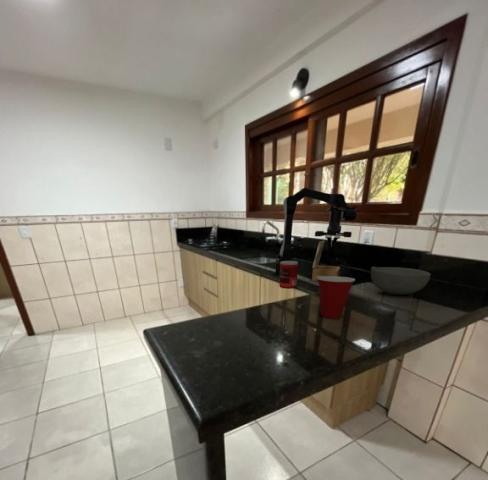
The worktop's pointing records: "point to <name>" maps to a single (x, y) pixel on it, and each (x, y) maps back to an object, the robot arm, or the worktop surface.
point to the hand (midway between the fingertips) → (331, 250)
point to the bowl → (399, 279)
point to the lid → (318, 254)
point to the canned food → (288, 274)
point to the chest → (325, 271)
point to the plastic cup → (333, 294)
